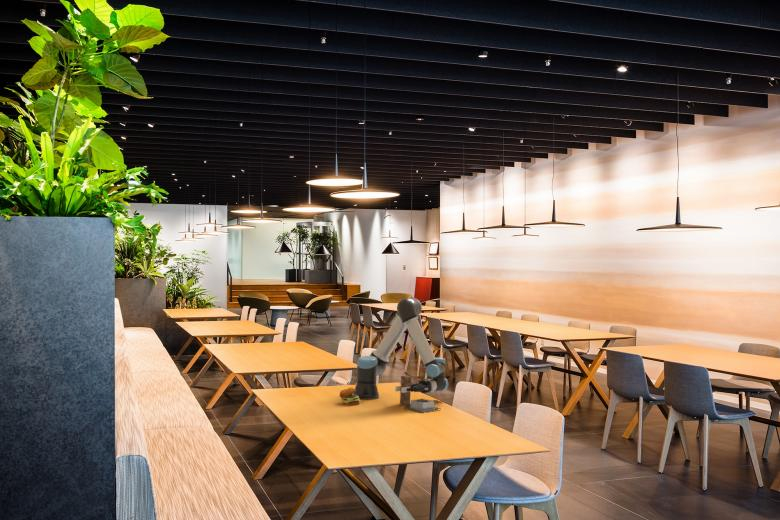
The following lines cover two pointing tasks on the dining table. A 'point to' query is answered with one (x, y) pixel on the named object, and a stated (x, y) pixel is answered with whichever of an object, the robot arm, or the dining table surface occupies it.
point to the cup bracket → (421, 406)
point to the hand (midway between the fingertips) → (398, 389)
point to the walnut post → (406, 395)
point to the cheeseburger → (349, 397)
